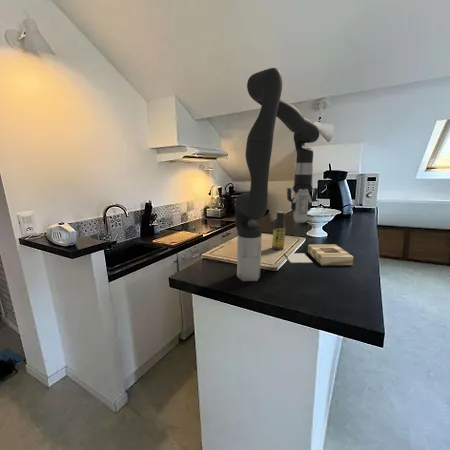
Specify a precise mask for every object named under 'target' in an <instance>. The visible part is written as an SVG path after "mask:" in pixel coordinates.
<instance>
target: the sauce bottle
mask: <svg viewBox="0 0 450 450" xmlns="http://www.w3.org/2000/svg"><path fill="white" fill-rule="evenodd" d="M275 220H276V221H275V222H274V223H273V229H272V231H273V232H272V241H271V245H272V247H271V248H272V249H273V250H275V249H282V250H284V247H285V239H286V238H285V237H286V223H285V211H276V219H275Z"/></svg>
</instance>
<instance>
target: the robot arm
mask: <svg viewBox="0 0 450 450" xmlns="http://www.w3.org/2000/svg"><path fill="white" fill-rule="evenodd" d="M246 89H247V93H248V95H249V96H250V98H251V99H252V100H253V101H254V102H256V103H257V104H259V105H260V107H261V108H260V111H259V113H258V116H257V118H256V120H255V121H254V123H253V125H252V127H251V128H250V131H249V133H248V134H247V138H246V146H245V147H246V148H245V162H246V166H247V169H248V171H249V176H250V189H249V192H243V193H240V194H239V195H238V196H237V198H236V200H235V203H234V204H235V205H234V216H235V217H234V218H235V222H234V224H235V228H236V230H237V246H236V247H237V250H236V251H237V252H236V253H237V254H236V258H237V259H236V277H237V278H238V279H239V280H240V281H241V282H258V281H259V279H260V278H261V259H262V257H261V255H262V232H263V231H262V228H261V226H260V225H259V224H258V223H257V221H256V220H260V219H262V218H263V217H264V216H265V214H266V212H267V208H268V198H269V197H268V196H269V193H268V192H269V191H268V189H269V175H270V164H271V157H272V152H273V142H274V134H275V126H276V119H277V118H278V120H280V121H281V122H282V123H283V124H284V125H285V126H286V128H288V130H289V131H290V132H292V133H293V142H294V146H295V147H294V148H295V152H296V153H295V154H296V157H295V159H296V160H295V166H294V167H295V168H294V178H293V179H294V182H293V187H286V198H287V201H288V202H290V204H291V206H290V207H291V208H290V209H291V211H293V212H294V211H295V205H296V203H295V202H296V199H297V198H298V193H297V192H300V191H301V189H307V192H308V193H309V196H308V212H310V211H311V209H312V203H314V202H316V201H317V197H318V195H319V194H318V193H319V187H312V185H313V184H312V183H313V171H314V170H313V168H314V166H313V165H314V163H313V161H314V151H313V149H312V148H307V146H306V144H311V143H315V142H317V140H319V138H320V129H319V127H318V126H317V125H316V124H315V123H314V122H312V121H311V120H309V119H307V118H305V117H304V115H303V114H302V113H301V112H300V110H299V109H298V108H297V107H295V106H294V105H292V104H291V103H289V102H286V101H284V100H283V99H281V98H282V97H281V96H282V93H283V91H282V90H283V76H282V74H281V71H280V70H279V69H278V68H276V67H270V68H266V69H263V70H261V71H257V72H254V73H253V74H251V75H249V78H248V80H247V82H246ZM298 189H300V190H299V191H298ZM293 192H294V194H293V196H292V193H293ZM311 192H312V196H311V195H310V193H311ZM295 193H297V194H296V196H295Z"/></svg>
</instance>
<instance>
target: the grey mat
mask: <svg viewBox="0 0 450 450" xmlns="http://www.w3.org/2000/svg"><path fill="white" fill-rule="evenodd" d="M287 260H288V262H289V264H313V263H314V262H313V261H312V260H311V259H310V258H309V257H308V256H307V254H306V253H304V252H303V253H301V252H300V253H299V252H298V253H297V252H295V253H292V254H291V255H290V256H289V258H288V259H287Z"/></svg>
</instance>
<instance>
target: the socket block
mask: <svg viewBox="0 0 450 450" xmlns="http://www.w3.org/2000/svg"><path fill="white" fill-rule="evenodd" d="M307 253H308V254H309V255H310V256H311V257H312V258H313V259H314V260H315V261H316V262H317V263H318V264H320V265H321V266H353V263H354V256H353V255H352V254H350V253H349V252H348V251H346V250H344V248H342V247H340V246H338V245H337V244H308V246H307Z"/></svg>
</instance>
